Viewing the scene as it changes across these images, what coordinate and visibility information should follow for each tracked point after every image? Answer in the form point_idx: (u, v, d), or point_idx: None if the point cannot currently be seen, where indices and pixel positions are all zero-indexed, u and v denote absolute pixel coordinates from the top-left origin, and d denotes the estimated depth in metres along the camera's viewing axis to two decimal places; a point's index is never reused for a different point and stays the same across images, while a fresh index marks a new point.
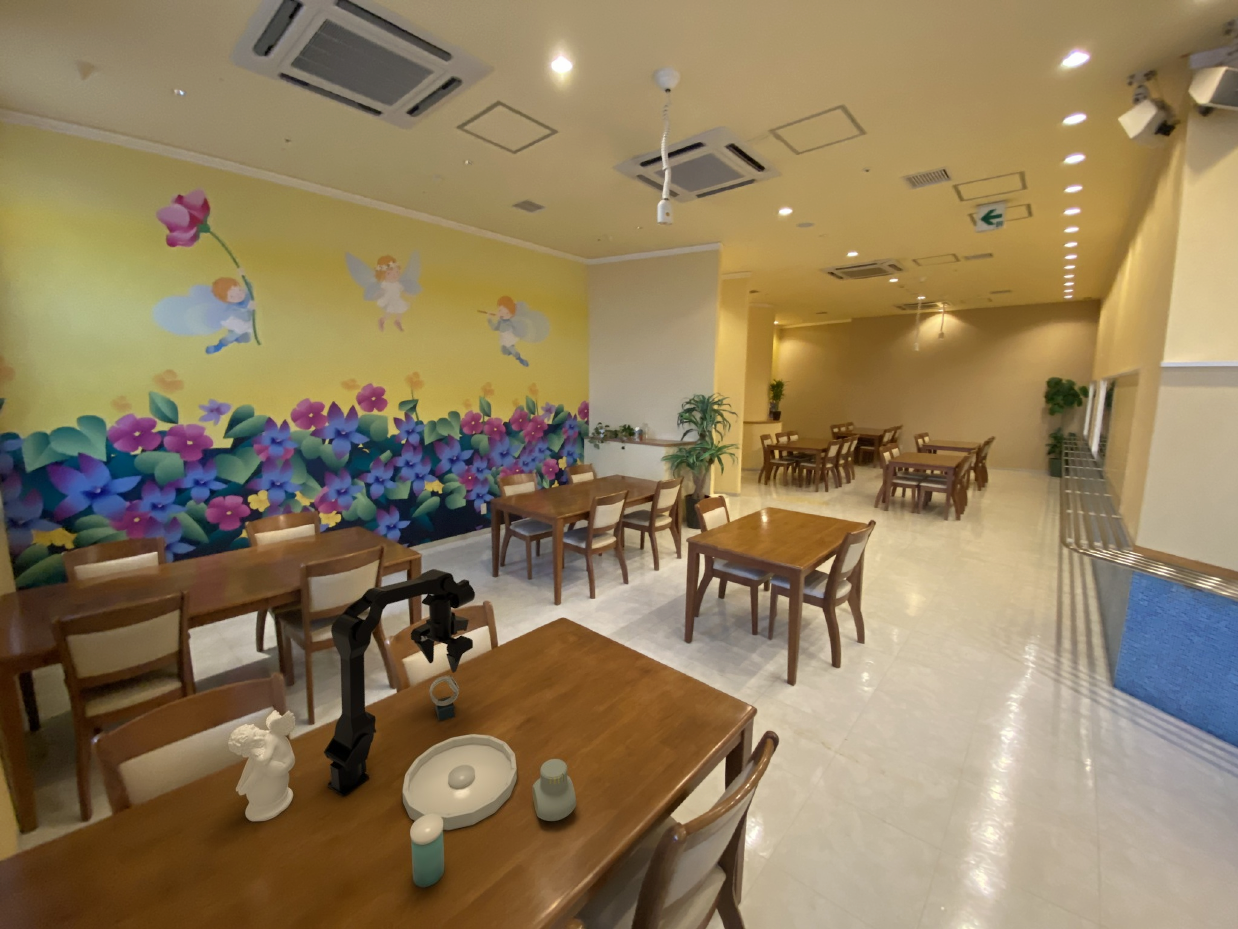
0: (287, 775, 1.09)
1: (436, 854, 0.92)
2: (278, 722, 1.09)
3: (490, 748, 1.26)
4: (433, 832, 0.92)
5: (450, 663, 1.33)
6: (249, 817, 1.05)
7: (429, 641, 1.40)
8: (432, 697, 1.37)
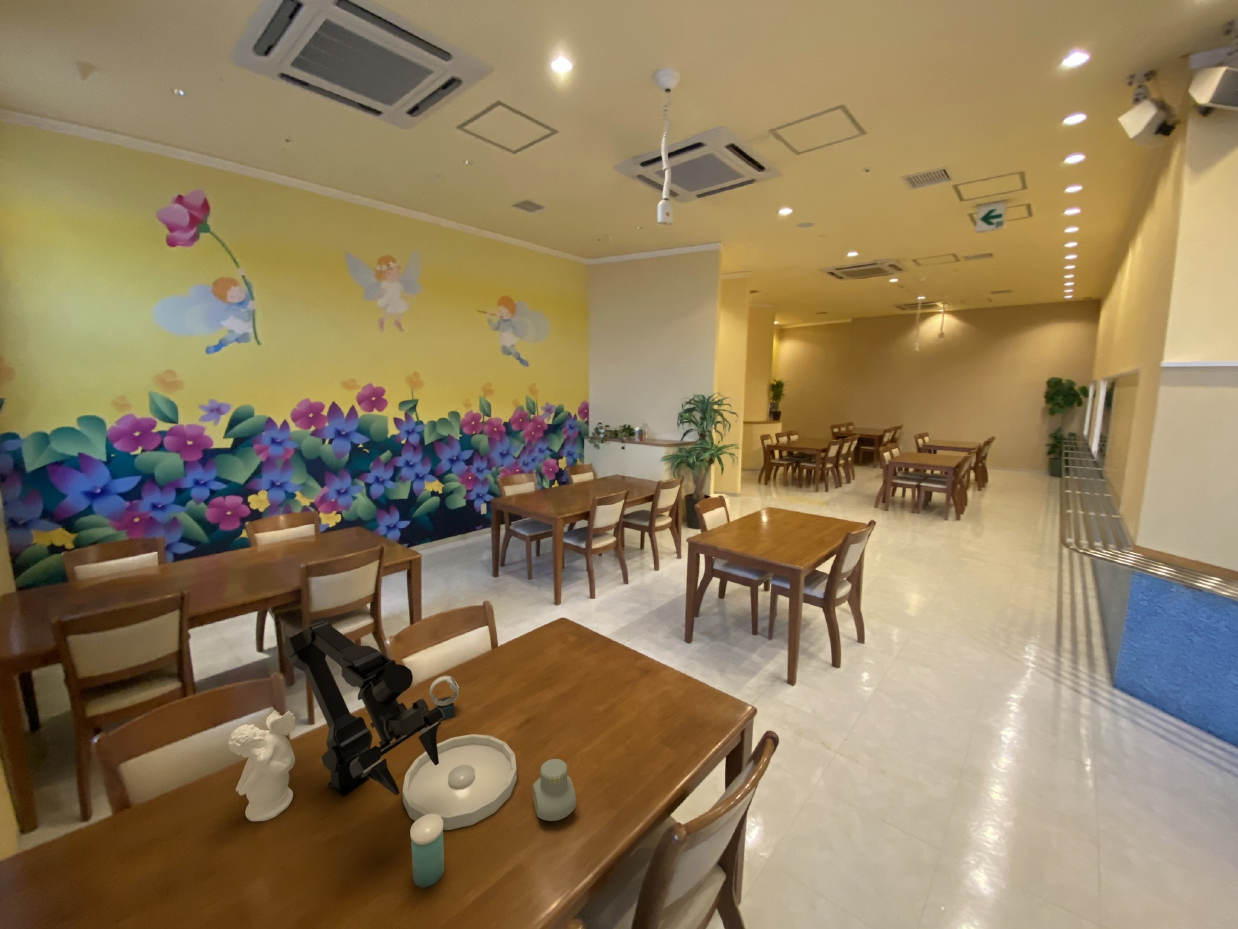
0: (287, 775, 1.09)
1: (436, 854, 0.92)
2: (278, 722, 1.09)
3: (490, 748, 1.26)
4: (433, 832, 0.92)
5: None
6: (249, 817, 1.05)
7: (425, 735, 1.06)
8: (432, 697, 1.37)
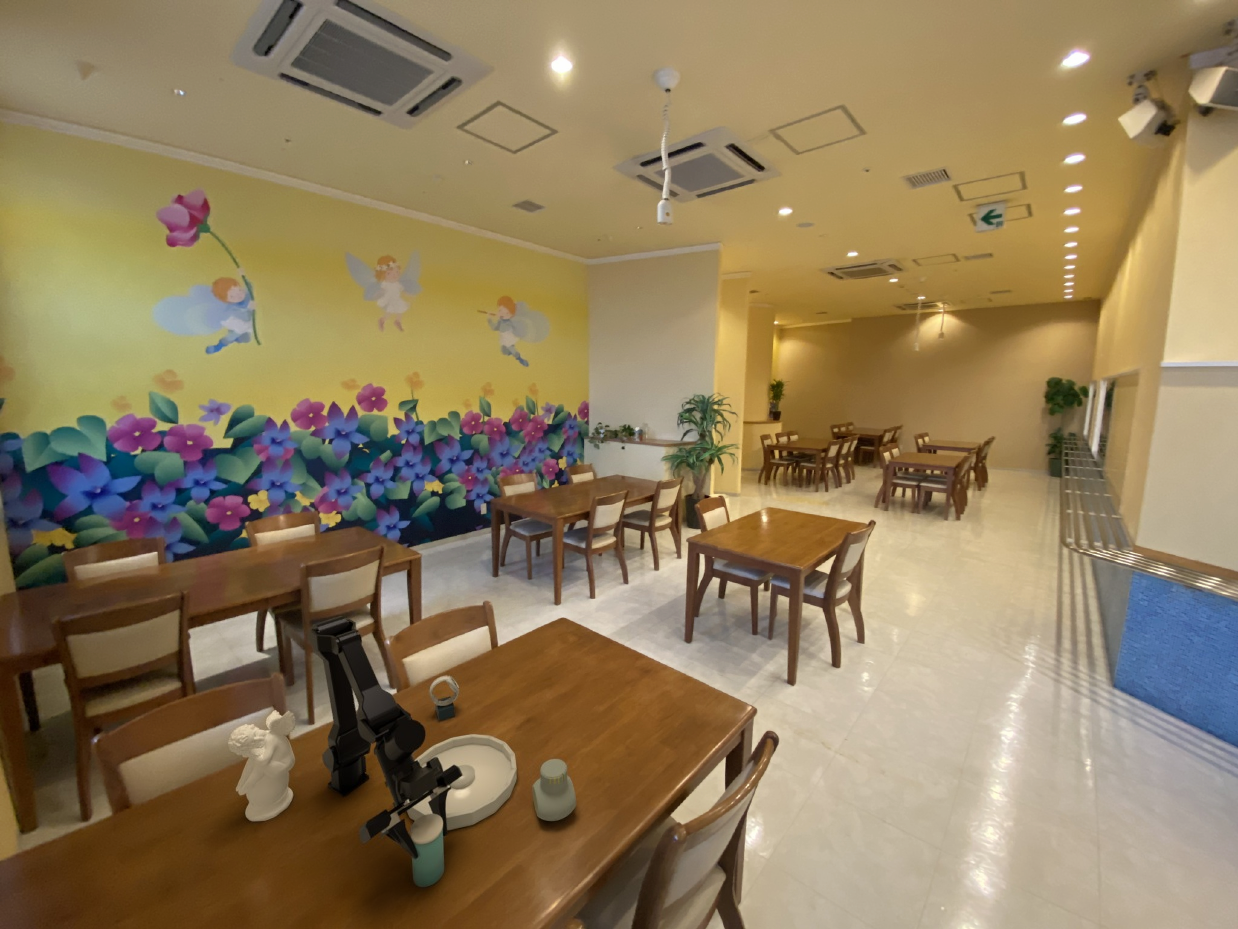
0: (287, 775, 1.09)
1: (436, 854, 0.92)
2: (278, 722, 1.09)
3: (490, 748, 1.26)
4: (433, 832, 0.92)
5: None
6: (249, 817, 1.05)
7: (434, 801, 0.98)
8: (432, 697, 1.37)
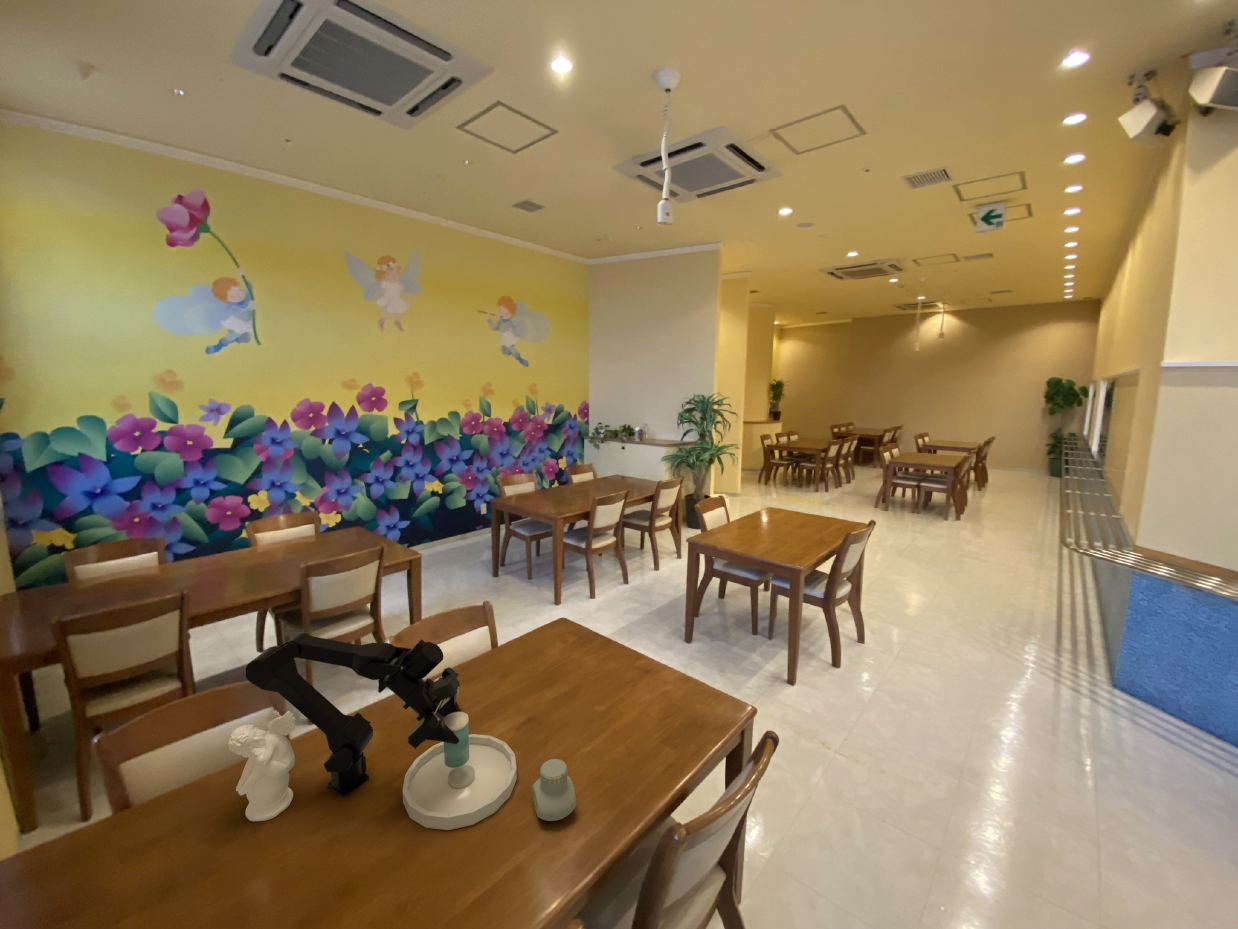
0: (287, 775, 1.09)
1: (468, 736, 1.15)
2: (278, 722, 1.09)
3: (490, 748, 1.26)
4: (464, 719, 1.14)
5: None
6: (249, 817, 1.05)
7: (447, 706, 1.17)
8: None
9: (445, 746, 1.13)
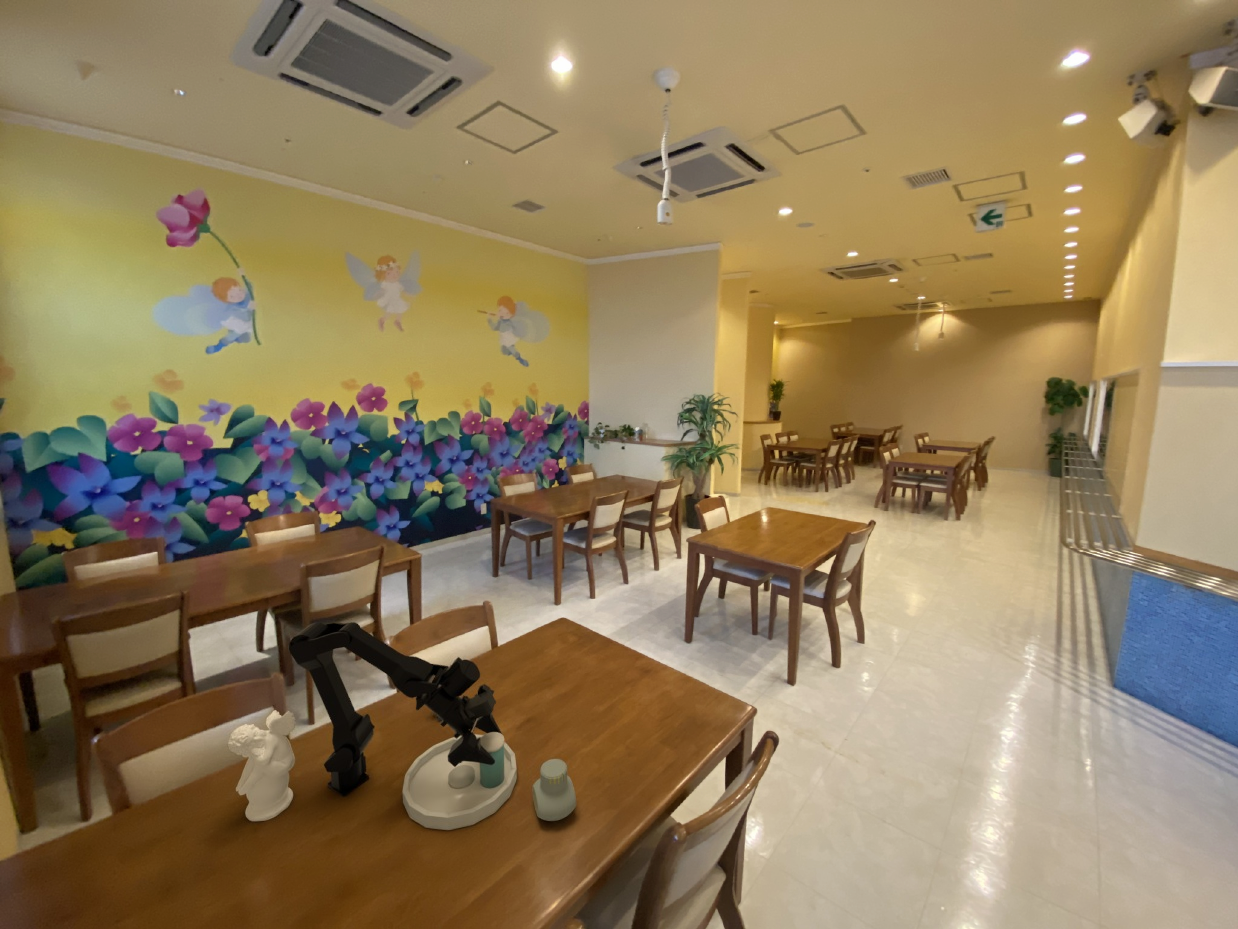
0: (287, 775, 1.09)
1: None
2: (278, 722, 1.09)
3: None
4: (500, 740, 1.15)
5: None
6: (249, 817, 1.05)
7: (483, 719, 1.19)
8: None
9: (481, 767, 1.14)
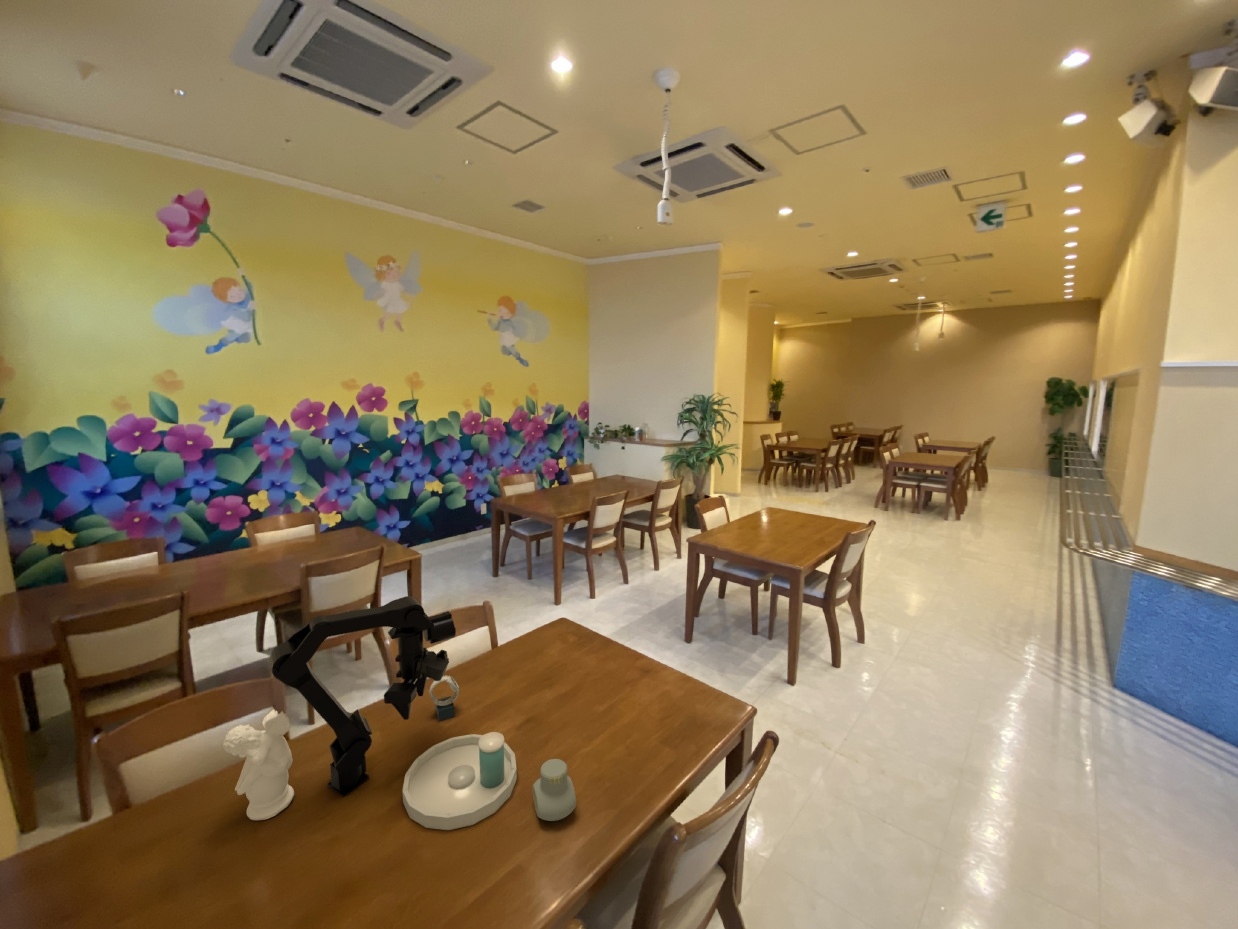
0: (286, 774, 1.09)
1: (503, 756, 1.16)
2: (273, 722, 1.08)
3: None
4: (500, 740, 1.15)
5: None
6: (249, 816, 1.05)
7: None
8: (432, 697, 1.37)
9: (481, 767, 1.14)
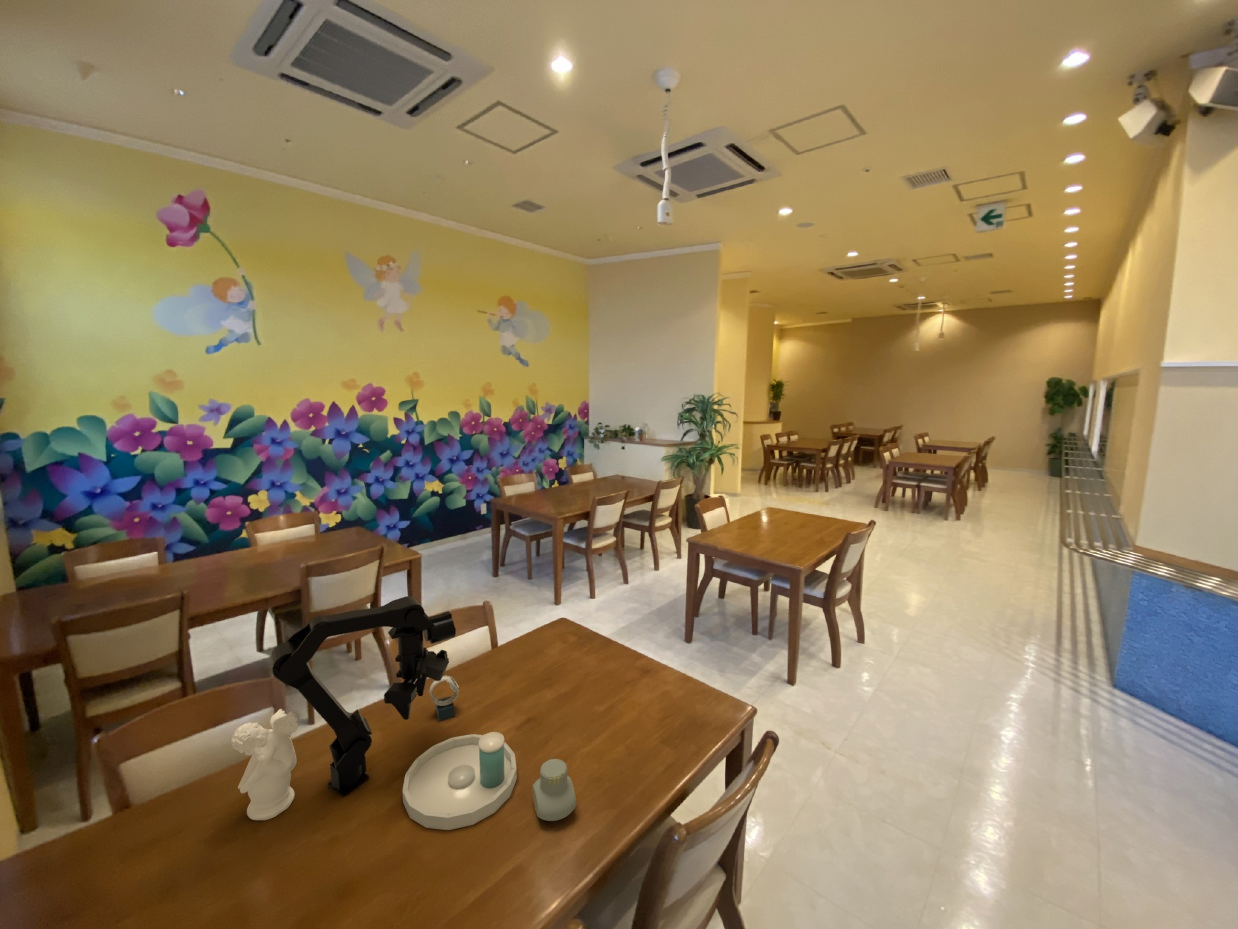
0: (288, 775, 1.09)
1: (503, 756, 1.16)
2: (281, 722, 1.09)
3: None
4: (500, 740, 1.15)
5: None
6: (250, 815, 1.05)
7: None
8: (432, 697, 1.37)
9: (481, 767, 1.14)
